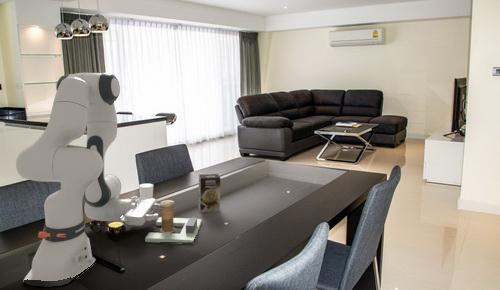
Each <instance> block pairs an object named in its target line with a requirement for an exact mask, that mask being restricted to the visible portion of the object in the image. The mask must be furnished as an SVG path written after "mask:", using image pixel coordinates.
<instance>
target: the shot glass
mask: <svg viewBox="0 0 500 290" xmlns="http://www.w3.org/2000/svg"><path fill="white" fill-rule="evenodd" d="M138 191H139V198H141V197H144V198H153V195H154V184H153V183H150V182H149V183H141V184H139V185H138Z"/></svg>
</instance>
